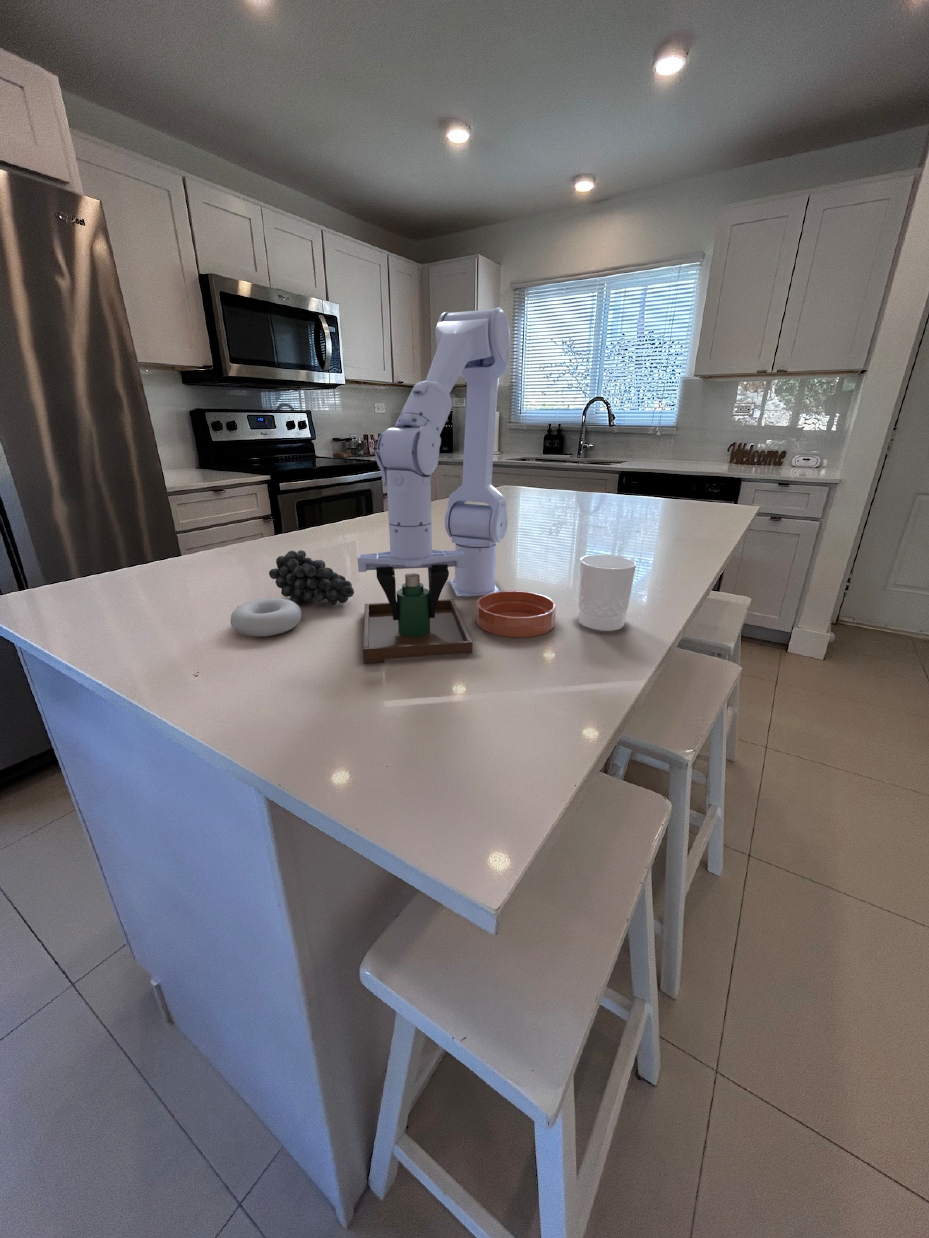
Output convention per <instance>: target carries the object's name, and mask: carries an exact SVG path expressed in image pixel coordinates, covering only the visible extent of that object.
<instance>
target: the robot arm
mask: <svg viewBox="0 0 929 1238" xmlns="http://www.w3.org/2000/svg"><path fill="white" fill-rule="evenodd" d="M435 343H436V347H437V348H436V352H435V353H434V356H433V360H432V362H431V365H430V366H429V367H430V368H429V369H428V372H427V375H426V378H425V380H422V381H419V382H417V383H415V384H414V386H413V387H412V388H411V391H410V393H409V395H408V396H407V399H406V402H404V403H405V404H404V405H403V408H402V410H401V411H400V414H399V415H398V418H397V419H396V422H395V424H394V426H393V427H392V426H391V427H389V428H386V429H385V431H384V432H382V433H381V434H380V436H379V437H378V440H377V444H376V450H374V454H375V460H376V463H377V466H378V468H379V470H380V472H381V480H382V484H383V486H384V488H386V493H387V515H388V535H389V536H388V537H389V551H384V552H383V551H382V552H374V553H365V554H357V569H358V570H357V571H358V572H359V573H366V572H367V571H375V572H376V580H377V582H378V583H379V585H380V587H381V588H382V591H383V592H384V594H385V597H386V599H387V601H388V602H389V604H390V607H391V610H392V614H393V620H398V610H397V591H396V590H397V589H396V588H397V587H396V575H395V574H396V573H395V570H402V569H403V570H404V569H405V570H407V569H427V575H428V590H429V604H430V618H435V611H436V607H437V603H438V600H440V596H441V593H442V591H443V589H444V587H445V585H446V583H447V582H448V579H449V577H450V576H449V575H450V571H449V568H453V567H454V579H450V580H449V583H450V585H451V587H452V588H453V591H454V594H455V596H456V597H474V596H475V597H476V596H484V595H487V594H489V593H494V592H500V591H501V590H500V589H499V588H498V587H497V585H496V571H497V570H496V566H497V564H496V563H497V544H499V543H500V542H501V541H502V540H503V539H504V538H505V536H506V533H507V529H508V513H507V498H506V497H505V496H504V495H503V494H502V493H501V492H500V491H499V490H497V488H495V487H494V486H493V485H492V483H493V482H492V481H493V480H492V479H493V465H494V451H495V450H494V449H495V434H496V421H497V420H496V418H497V403H498V391H499V380H500V377H502V376H504V375H505V374H506V373H508V368H509V367H508V366H509V360H510V347H511V329H510V325H509V318H508V316H507V314H506V313H505V311H504V309H502V308H501V307H500V306H499V307H494V308H493V309H492V308H491V309H481V310H480V309H479V310H469V311H468V310H467V311H456V312H451V311H444V312H443V313H441V314H440V316H439V318H438V321H437V323H436V326H435ZM460 377H461V378H463V379H464V381H465V383H466V403H465V423H464V424H465V425H464V442H463V461H462V462H463V463H462V483H461V485H460V486H459V487H458V488H457V489H456V490H454V491H453V492H451V494H450V495H449V496H448V502H447V508H446V511H445V514H444V529H445V532H446V534H447V536H448V537H449V538H451V543H452V544H454V545H455V548H454V550H441V549H439V550H438V549H433V535H432V534H433V533H432V531H433V530H432V490H431V489H432V485H431V484H432V483H431V481H432V480H431V475H432V474H433V473H434V472H435V471H436V468H437V467H438V464H439V460H440V447H441V445H442V438H441V436H440V435H441V433H442V432H443V429H444V426H445V425H446V422H447V420H448V418H449V416H450V414H451V410H452V408H453V401H452V398H451V396H450V393H451V392H452V390H453V388H454V386H455V385H456V383H457V381H458V380H459V378H460ZM467 502H468V503H467ZM469 502H471V503H469ZM474 503H481V504H474ZM482 503H483V504H482Z"/></svg>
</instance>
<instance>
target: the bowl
mask: <svg viewBox="0 0 929 1238" xmlns="http://www.w3.org/2000/svg"><path fill="white" fill-rule="evenodd" d="M499 591H500V592H494V593H489V594H487V595H481V597H479V598H478V599H477V601H476V607H475V616H476V617H475V622H476V624H477V626H478V627H479V628H480V629H481V630H483V631H485V632H487V633H490V634H493V635H496V636H502V637H506V638H508V637H509V638H530V637H531V638H532V637H537V636H541V635H546V634H547V633H549V632H551V631H552V630H553V628H554V627H555V625H556V624H555V623H556V612H557V604H556V602H555V601H554V600H553V599H552V598H550V597H548V596H546V595H543V594H540V593H537V592H531V591H526V590H525V591H523V590H499Z"/></svg>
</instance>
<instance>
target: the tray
mask: <svg viewBox="0 0 929 1238" xmlns="http://www.w3.org/2000/svg"><path fill="white" fill-rule="evenodd" d="M363 614H364V616H363V637H362V639H363V640H362V655H363V664H374V663H385V660H389V659H403V658H416V657H417V658H418V657H419V658H420V657H431V656H432V657H434V656H447V655H448V656H449V655H461V654H472V653H473V645H474V643H473V640H472V638H471V636H470V633H469V631H468V628H467V627H466V624H465V622H464V620H463V617H462V614H460V611H459V608H458V607H457V604H456V601H455V599H454V598H448V599H447V598H446V599H445V598H444V599H438V603H437V607H436V611H435V618H430V632H429V633H428V634H426V635H424V636H419V637H407V636H403V635H401V634H400V633H399V632H398V620H393V614H392V610H391V607H390V604H389V601H388V602H370V603H364V613H363Z"/></svg>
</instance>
